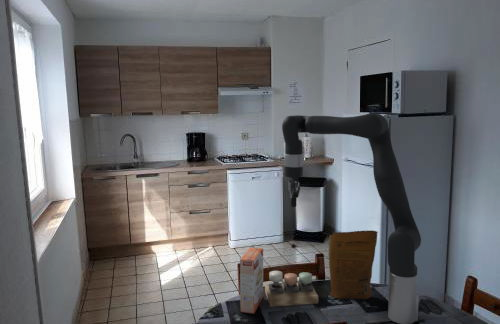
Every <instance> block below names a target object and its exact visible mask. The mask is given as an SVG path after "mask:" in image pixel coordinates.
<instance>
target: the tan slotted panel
mask: <svg viewBox="0 0 500 324" xmlns="http://www.w3.org/2000/svg"><path fill="white" fill-rule="evenodd" d="M264 292H265V296H266V298H267V301H268V304H269V307H284V306H285V307H286V306H287V307H288V306H295V305H296V306H299V305H311V304H319V294H318V293H317V292H316V289H315V288H314V285H313V284H312V282H311V283H308V286H303V283H301V282H299V281H297V283H296V284H294V287H288V284H286V283H285V282H279V285H278V286H274V285H273V282H272V283H268V284H265V285H264Z"/></svg>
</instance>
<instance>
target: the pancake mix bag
mask: <svg viewBox="0 0 500 324" xmlns="http://www.w3.org/2000/svg"><path fill="white" fill-rule="evenodd" d="M377 241H378V231H376V230H357V231H356V230H355V231H354V230H353V231H340V232H337V231H336V232H332V234H329V237H328V266H329V268H328V269H329V279H330V287H331V290H330V294H329V295H330V297H333V298H334V299H340V300H367V299H370V298H371V297H372V289H371V281H372V275H373V266H374V260H375V256H376V255H375V254H376V246H377Z"/></svg>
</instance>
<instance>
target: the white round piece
mask: <svg viewBox="0 0 500 324" xmlns="http://www.w3.org/2000/svg"><path fill="white" fill-rule="evenodd" d="M268 274H269V281H270V282H272V283H273V285H274V286H278V285H279V283H281V282H282V281H283V280H284V279H283V276H284V275H283V272H282V271H280V270H272V271H269V273H268Z"/></svg>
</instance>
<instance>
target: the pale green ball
mask: <svg viewBox="0 0 500 324" xmlns="http://www.w3.org/2000/svg"><path fill="white" fill-rule="evenodd" d="M298 282H301V283H303V286H308V283H311V284H312V282H313V274H312V273H311V272H307V271H306V272H304V271H302V272H299V274H298Z"/></svg>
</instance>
